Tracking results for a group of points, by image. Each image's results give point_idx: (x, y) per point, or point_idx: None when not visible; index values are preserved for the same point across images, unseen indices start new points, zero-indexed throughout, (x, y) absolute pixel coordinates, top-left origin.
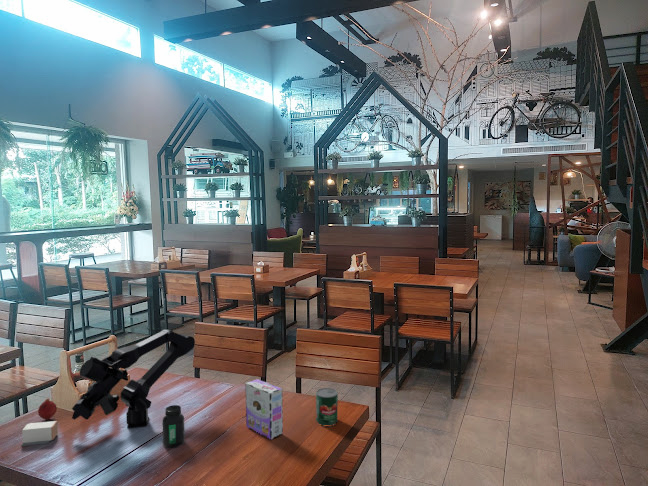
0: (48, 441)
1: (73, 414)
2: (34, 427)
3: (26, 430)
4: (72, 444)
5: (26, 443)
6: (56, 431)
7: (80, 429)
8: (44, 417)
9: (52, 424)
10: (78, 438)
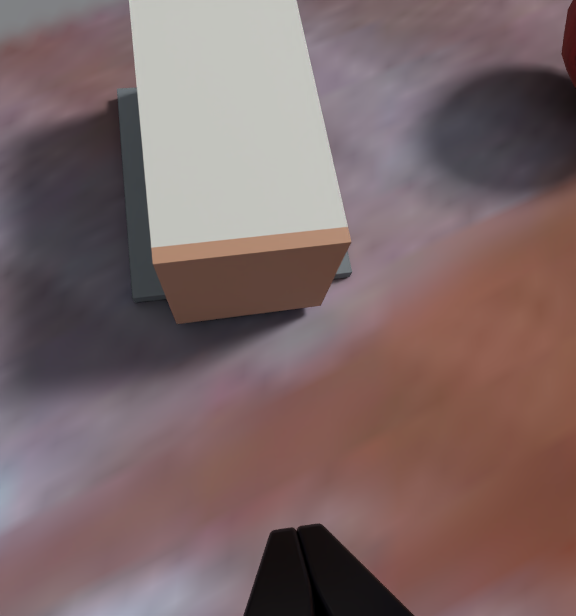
0: (149, 292)
1: (248, 607)
2: (173, 56)
3: (130, 9)
4: (64, 601)
5: (138, 116)
6: (288, 296)
7: (437, 507)
8: (565, 58)
9: (240, 228)
10: (215, 602)
